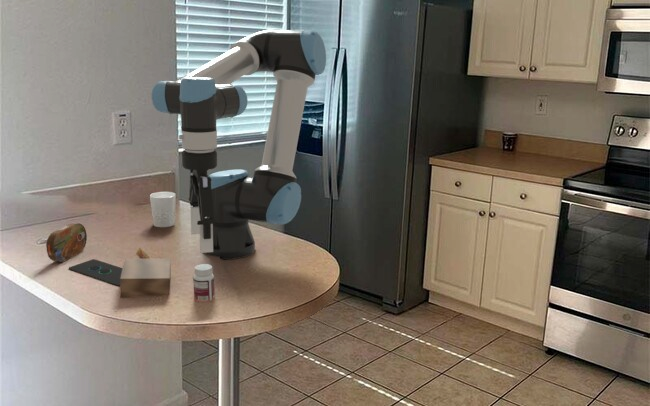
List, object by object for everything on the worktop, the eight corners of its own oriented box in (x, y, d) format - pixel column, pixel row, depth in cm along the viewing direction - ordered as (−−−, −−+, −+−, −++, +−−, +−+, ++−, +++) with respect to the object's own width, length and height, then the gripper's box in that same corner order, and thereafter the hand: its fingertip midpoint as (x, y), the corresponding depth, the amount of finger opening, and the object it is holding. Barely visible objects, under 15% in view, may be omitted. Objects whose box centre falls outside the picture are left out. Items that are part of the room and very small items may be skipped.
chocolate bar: (144, 253, 173) (144, 246, 172) (157, 267, 163) (156, 259, 162) (135, 255, 171) (134, 247, 171) (147, 269, 161) (146, 261, 161)
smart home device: (94, 258, 164) (145, 274, 154) (94, 264, 164) (146, 281, 154) (66, 267, 157) (119, 285, 147) (67, 273, 157) (119, 292, 147)
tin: (56, 266, 161) (53, 236, 159) (45, 265, 161) (42, 235, 159) (88, 247, 175) (86, 219, 173) (78, 246, 176) (76, 218, 173)
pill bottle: (205, 294, 146) (204, 261, 143) (219, 300, 143) (218, 266, 141) (189, 300, 142) (188, 267, 140) (203, 306, 139) (202, 272, 137)
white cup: (151, 221, 200) (149, 192, 197) (175, 220, 202) (174, 191, 200) (152, 229, 193) (150, 198, 190) (177, 227, 195) (176, 197, 192)
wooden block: (170, 276, 154) (170, 258, 152) (169, 297, 144) (169, 278, 142) (124, 276, 151) (124, 258, 150) (120, 298, 141) (120, 278, 139)
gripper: (175, 141, 143) (178, 227, 148) (189, 161, 120) (192, 262, 126) (207, 140, 145) (209, 225, 151) (227, 159, 123) (229, 259, 128)
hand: (201, 242), depth 138 cm, fingers open, 13 cm apart
